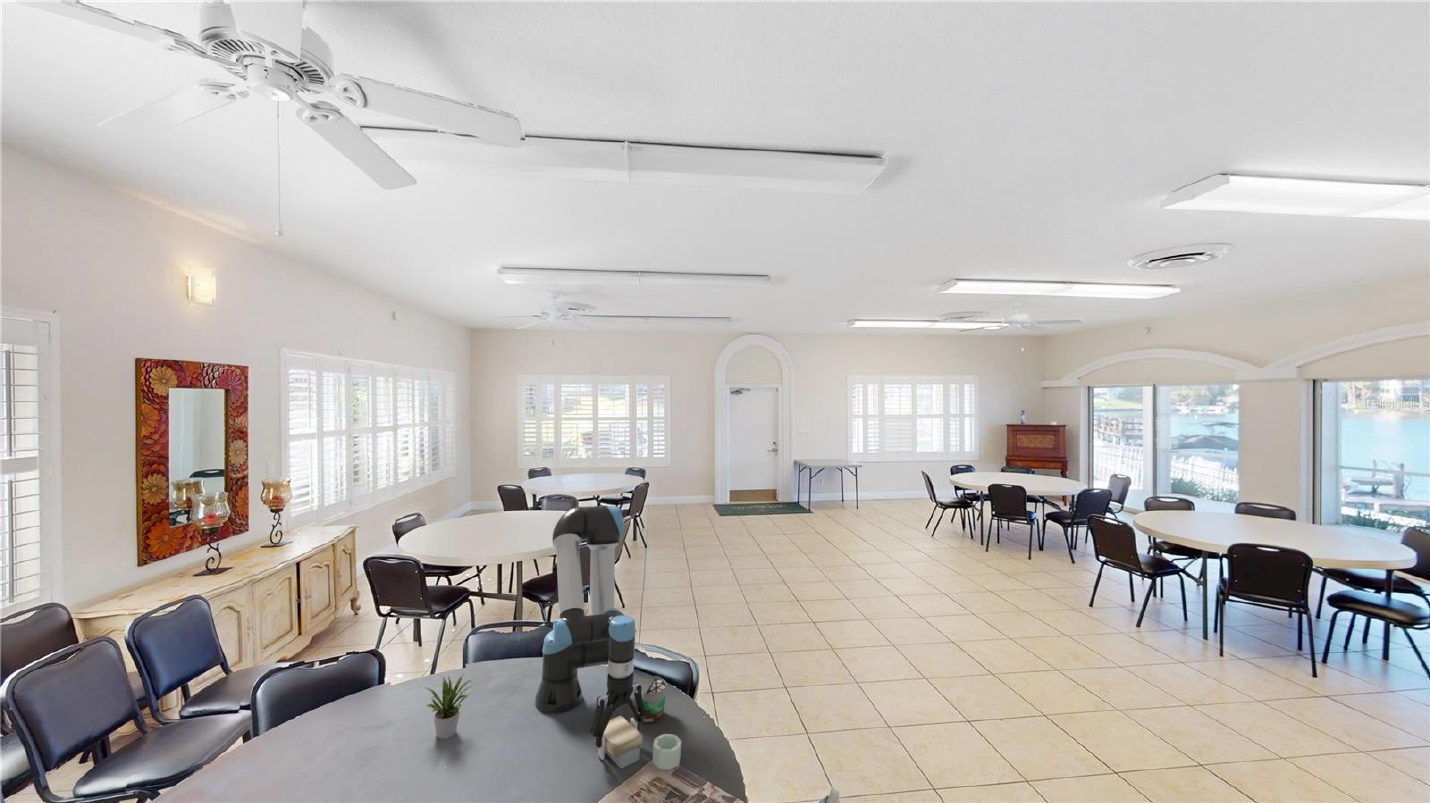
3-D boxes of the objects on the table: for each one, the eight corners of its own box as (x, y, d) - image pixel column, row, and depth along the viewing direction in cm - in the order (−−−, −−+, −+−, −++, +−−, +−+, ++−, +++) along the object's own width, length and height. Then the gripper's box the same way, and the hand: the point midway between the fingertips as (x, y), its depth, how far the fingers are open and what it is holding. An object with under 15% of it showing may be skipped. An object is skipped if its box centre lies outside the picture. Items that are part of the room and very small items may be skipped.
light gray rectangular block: (596, 743, 153) (596, 733, 153) (614, 735, 157) (614, 725, 157) (621, 768, 143) (621, 757, 143) (639, 759, 147) (639, 748, 147)
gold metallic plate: (593, 736, 152) (594, 726, 152) (620, 725, 158) (620, 715, 158) (614, 757, 143) (615, 747, 143) (642, 745, 149) (642, 734, 149)
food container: (660, 729, 161) (661, 697, 162) (641, 726, 163) (642, 694, 163) (671, 707, 173) (672, 677, 174) (654, 704, 175) (655, 675, 175)
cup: (648, 758, 147) (648, 740, 148) (669, 747, 152) (670, 730, 153) (663, 773, 142) (664, 754, 142) (685, 761, 147) (686, 743, 147)
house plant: (486, 728, 159) (489, 674, 159) (446, 754, 146) (449, 696, 147) (454, 715, 165) (456, 663, 165) (413, 739, 152) (416, 683, 153)
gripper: (591, 690, 140) (588, 773, 140) (659, 665, 155) (656, 740, 155) (578, 679, 146) (575, 758, 145) (645, 656, 161) (642, 728, 160)
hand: (617, 749), depth 150 cm, fingers open, 10 cm apart
